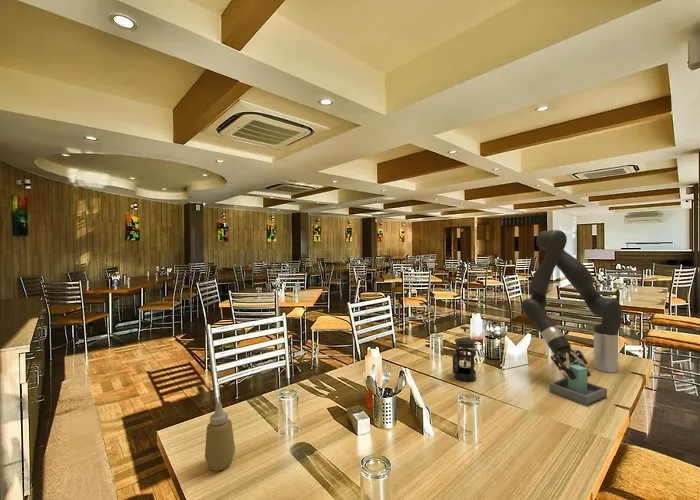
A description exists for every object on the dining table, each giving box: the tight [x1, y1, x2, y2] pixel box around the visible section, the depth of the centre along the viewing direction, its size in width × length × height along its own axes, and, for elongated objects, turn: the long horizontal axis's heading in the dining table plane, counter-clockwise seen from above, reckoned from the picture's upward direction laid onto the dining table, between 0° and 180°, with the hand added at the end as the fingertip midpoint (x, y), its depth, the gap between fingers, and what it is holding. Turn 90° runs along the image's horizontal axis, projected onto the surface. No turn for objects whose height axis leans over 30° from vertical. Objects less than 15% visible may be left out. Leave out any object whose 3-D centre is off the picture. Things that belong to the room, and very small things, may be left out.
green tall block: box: [568, 365, 588, 394], centre depth 137 cm, size 4×4×10 cm
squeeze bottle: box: [204, 401, 236, 472], centre depth 97 cm, size 8×8×18 cm
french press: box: [452, 325, 477, 383], centre depth 154 cm, size 12×9×23 cm
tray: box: [549, 377, 608, 407], centre depth 137 cm, size 14×14×4 cm
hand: (581, 377), depth 135 cm, fingers open, 7 cm apart
